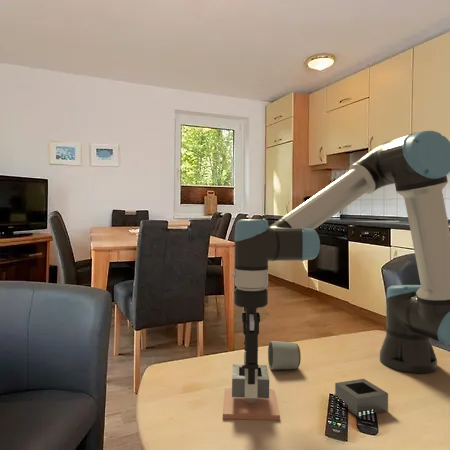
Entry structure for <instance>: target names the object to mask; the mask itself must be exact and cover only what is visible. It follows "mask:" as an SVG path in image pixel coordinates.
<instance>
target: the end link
mask: <svg viewBox="0 0 450 450" xmlns="http://www.w3.org/2000/svg"><path fill="white" fill-rule="evenodd" d="M242 365H243V364H234V363H233V364H232V371H231V372H232V373H231V375H232V377H231V389H232V397H245V369H242ZM269 389H270V376H269V370H268V366H267V365H266V364H264V365H263V364H258V384H257V398H269Z"/></svg>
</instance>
